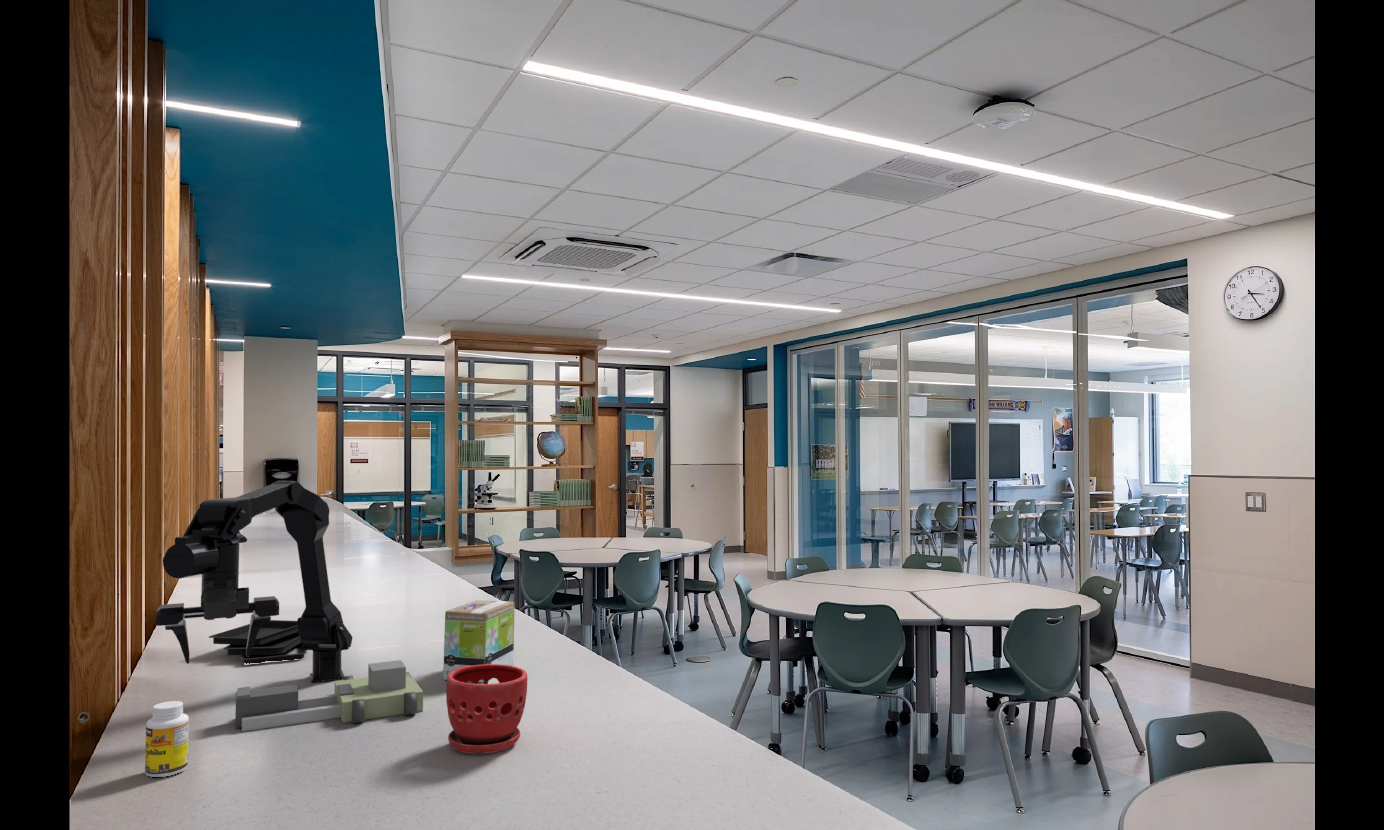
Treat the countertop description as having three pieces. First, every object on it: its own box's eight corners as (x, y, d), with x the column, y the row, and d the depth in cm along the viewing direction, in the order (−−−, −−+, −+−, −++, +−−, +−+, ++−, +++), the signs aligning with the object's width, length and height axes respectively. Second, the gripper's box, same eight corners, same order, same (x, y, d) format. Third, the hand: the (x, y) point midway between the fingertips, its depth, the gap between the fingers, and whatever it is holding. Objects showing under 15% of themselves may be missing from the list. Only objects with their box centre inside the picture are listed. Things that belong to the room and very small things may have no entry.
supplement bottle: (135, 776, 126) (137, 708, 127) (168, 763, 131) (170, 697, 132) (164, 781, 125) (165, 711, 125) (196, 767, 130) (197, 700, 130)
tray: (328, 657, 199) (328, 635, 199) (216, 673, 186) (216, 649, 186) (302, 635, 223) (303, 615, 224) (202, 647, 210) (202, 626, 210)
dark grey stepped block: (235, 719, 152) (236, 687, 153) (296, 710, 157) (296, 680, 157) (235, 728, 147) (235, 696, 148) (298, 719, 152) (298, 688, 152)
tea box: (486, 683, 176) (486, 612, 176) (441, 681, 178) (442, 610, 178) (515, 665, 191) (515, 599, 191) (474, 663, 193) (474, 598, 193)
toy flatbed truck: (242, 707, 160) (242, 667, 160) (406, 685, 174) (406, 648, 174) (241, 742, 141) (242, 696, 141) (425, 715, 155) (426, 673, 155)
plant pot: (451, 765, 130) (452, 687, 131) (441, 738, 142) (441, 667, 143) (535, 752, 135) (535, 677, 136) (518, 727, 148) (518, 659, 148)
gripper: (155, 580, 137) (153, 676, 136) (282, 571, 146) (280, 662, 146) (159, 572, 147) (156, 662, 146) (277, 565, 156) (275, 650, 155)
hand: (218, 659), depth 148 cm, fingers open, 9 cm apart
